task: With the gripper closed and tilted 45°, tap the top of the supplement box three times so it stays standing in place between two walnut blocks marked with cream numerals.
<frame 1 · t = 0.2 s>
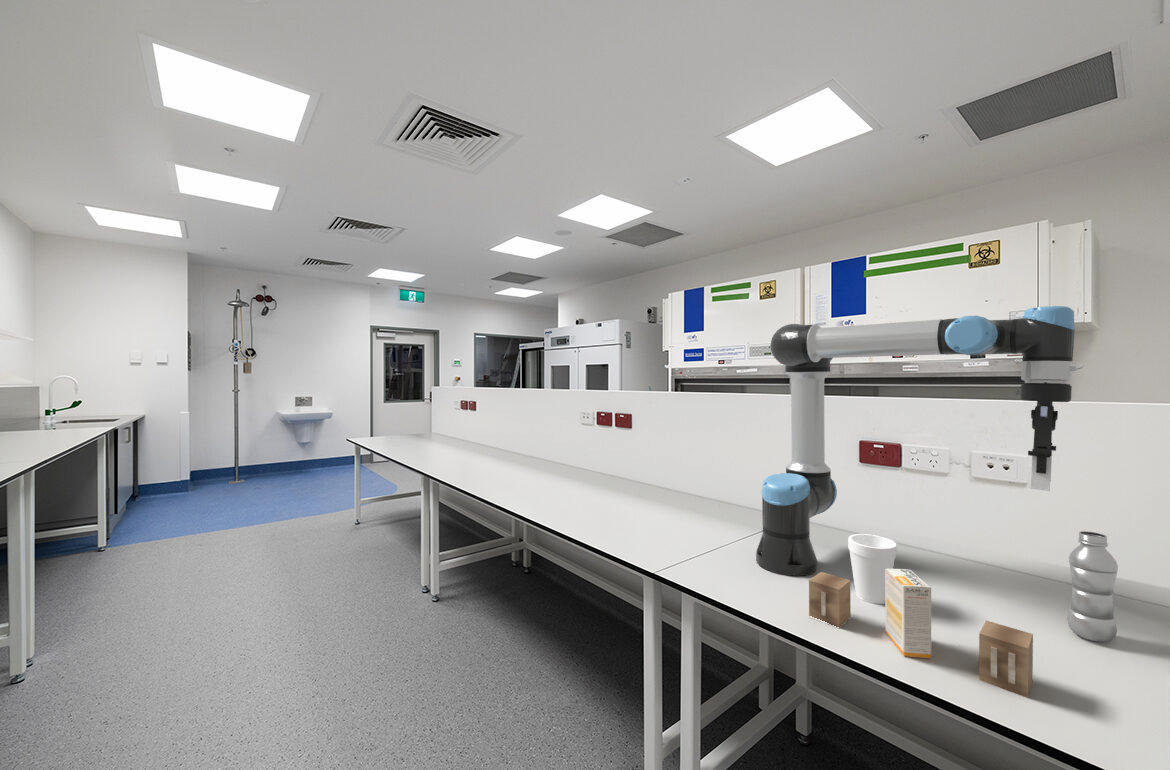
hand: (1041, 484, 98), 28 cm above the lab bench, tool pointing down, fingers open, 13 cm apart
foam cup: (871, 598, 108), on the lab bench
walnut block two: (1005, 680, 79), on the lab bench
walnut block one: (829, 617, 100), on the lab bench
plastic bottle: (1091, 638, 91), on the lab bench
supplement box: (907, 646, 90), on the lab bench
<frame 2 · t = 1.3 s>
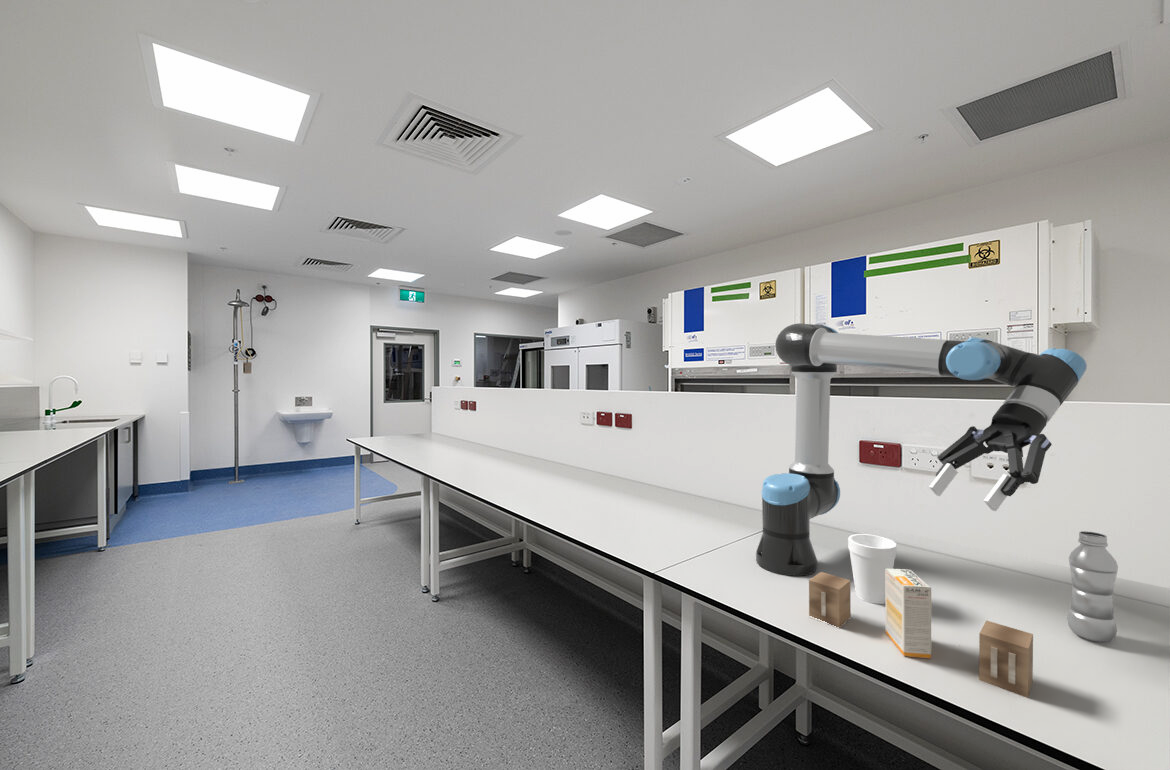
hand: (960, 498, 92), 27 cm above the lab bench, tool tilted 45°, fingers open, 10 cm apart
nothing on the lab bench moved.
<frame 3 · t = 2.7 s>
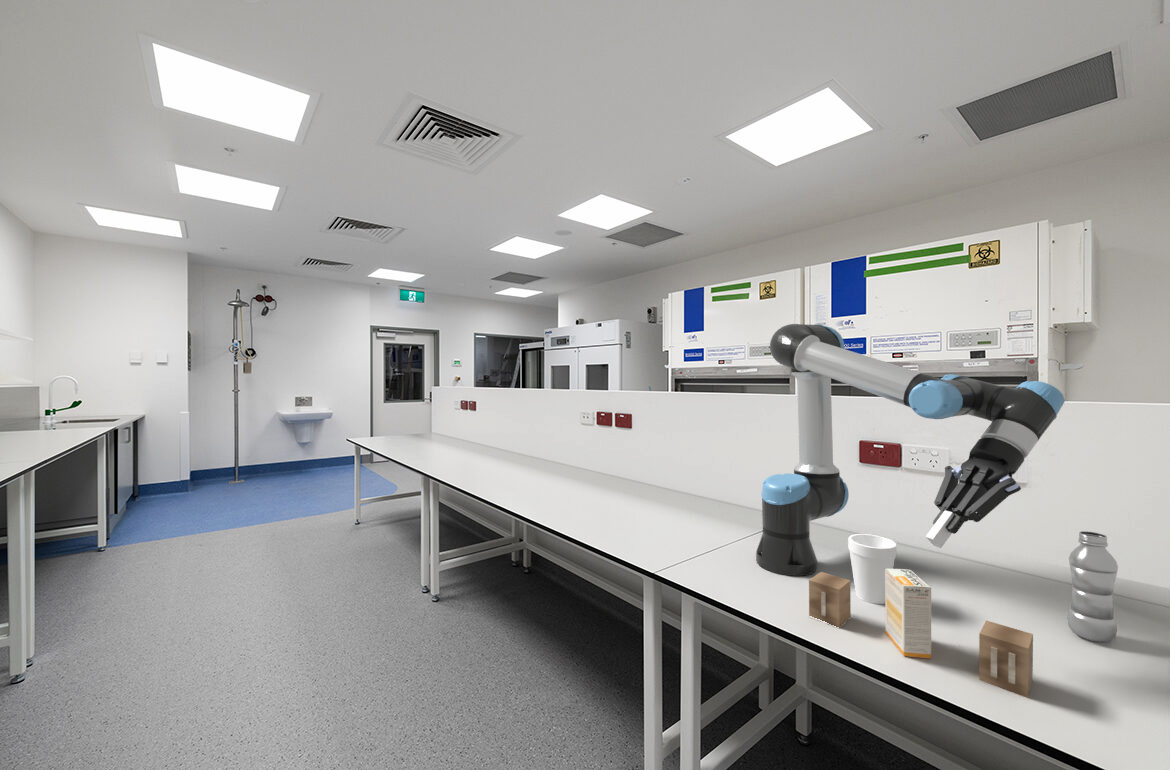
hand: (933, 542, 89), 20 cm above the lab bench, tool tilted 45°, fingers closed
nothing on the lab bench moved.
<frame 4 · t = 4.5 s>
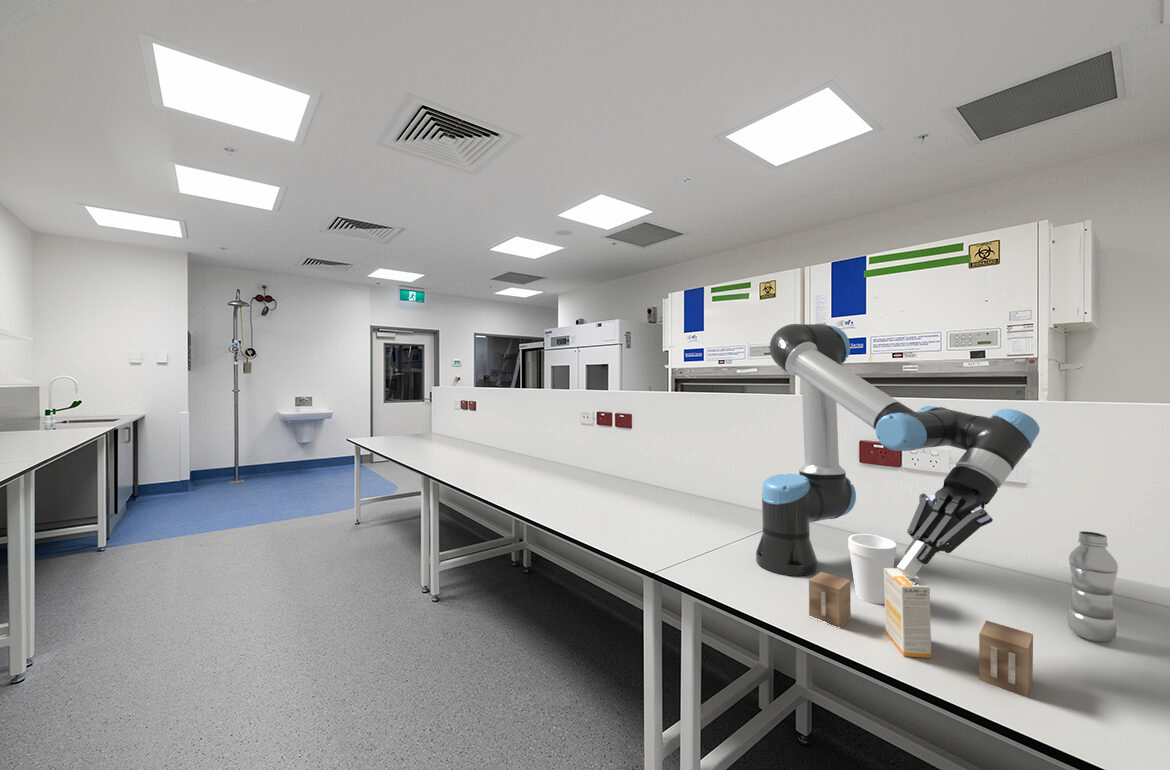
hand: (904, 572, 88), 14 cm above the lab bench, tool tilted 45°, fingers closed
supplement box: (907, 645, 90), on the lab bench, touching gripper
everything else where it was.
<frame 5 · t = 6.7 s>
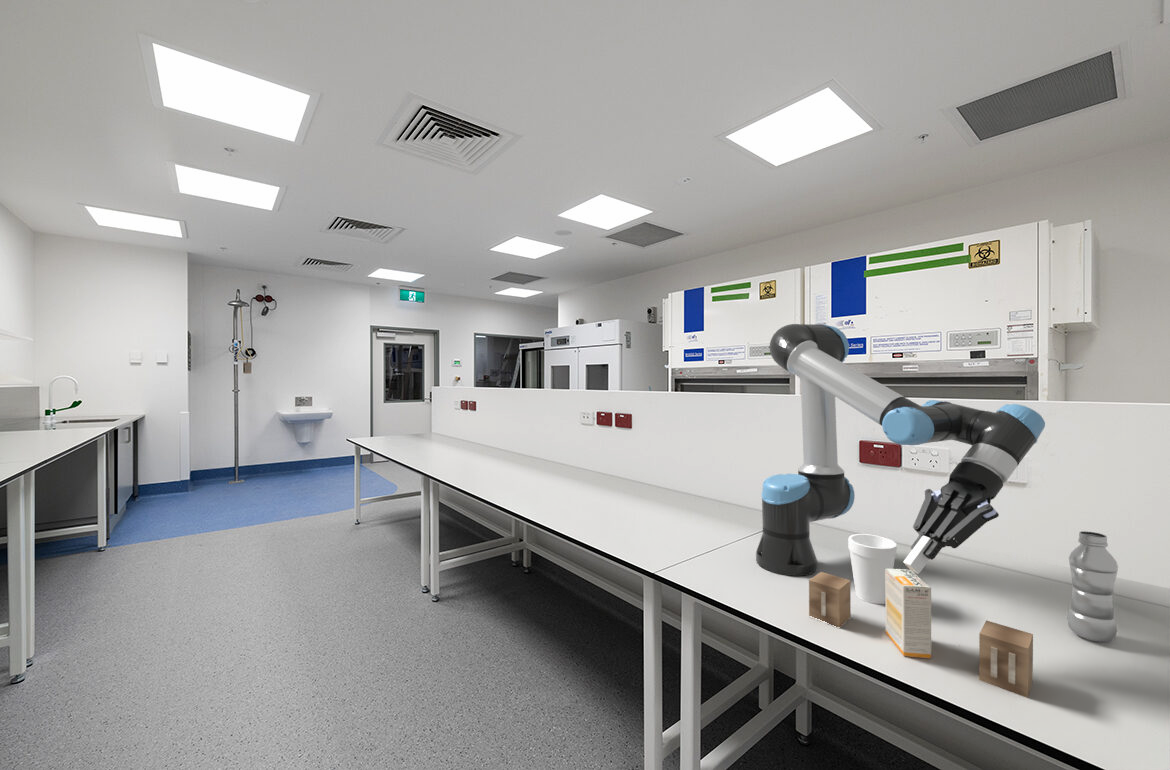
hand: (910, 567, 88), 15 cm above the lab bench, tool tilted 45°, fingers closed
supplement box: (907, 646, 90), on the lab bench
everything else where it was.
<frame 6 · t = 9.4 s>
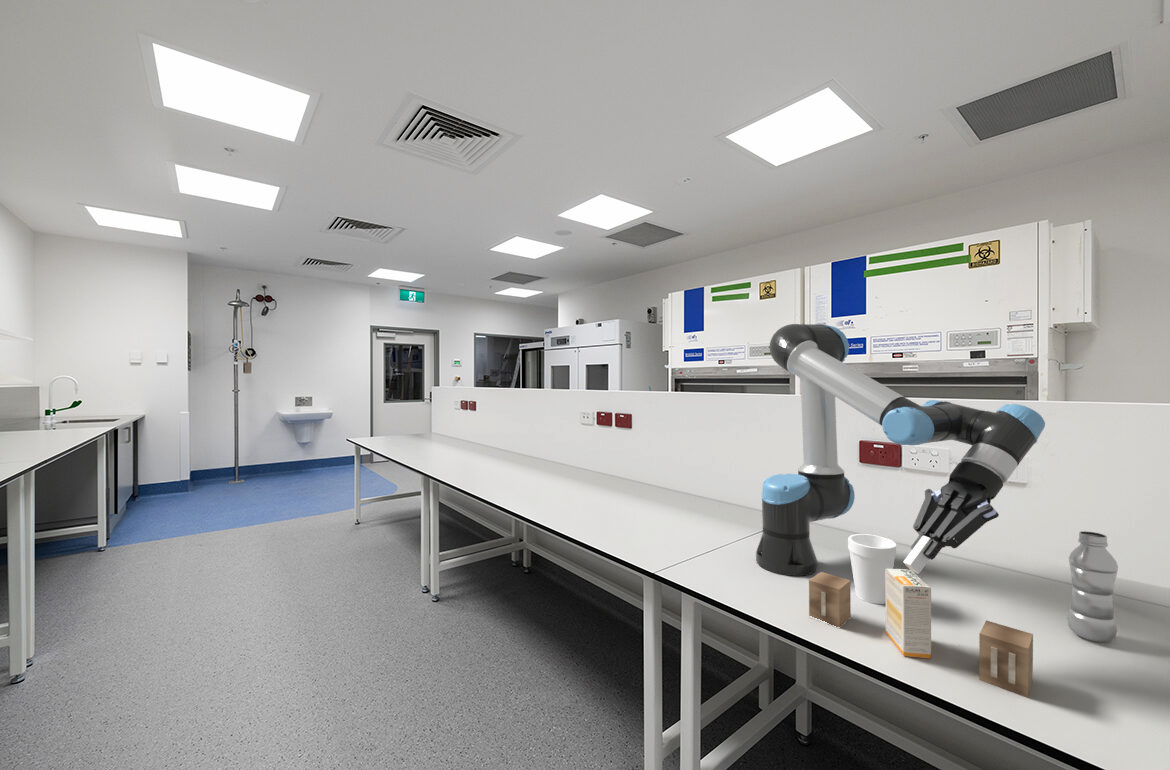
hand: (910, 567, 88), 15 cm above the lab bench, tool tilted 45°, fingers closed
nothing on the lab bench moved.
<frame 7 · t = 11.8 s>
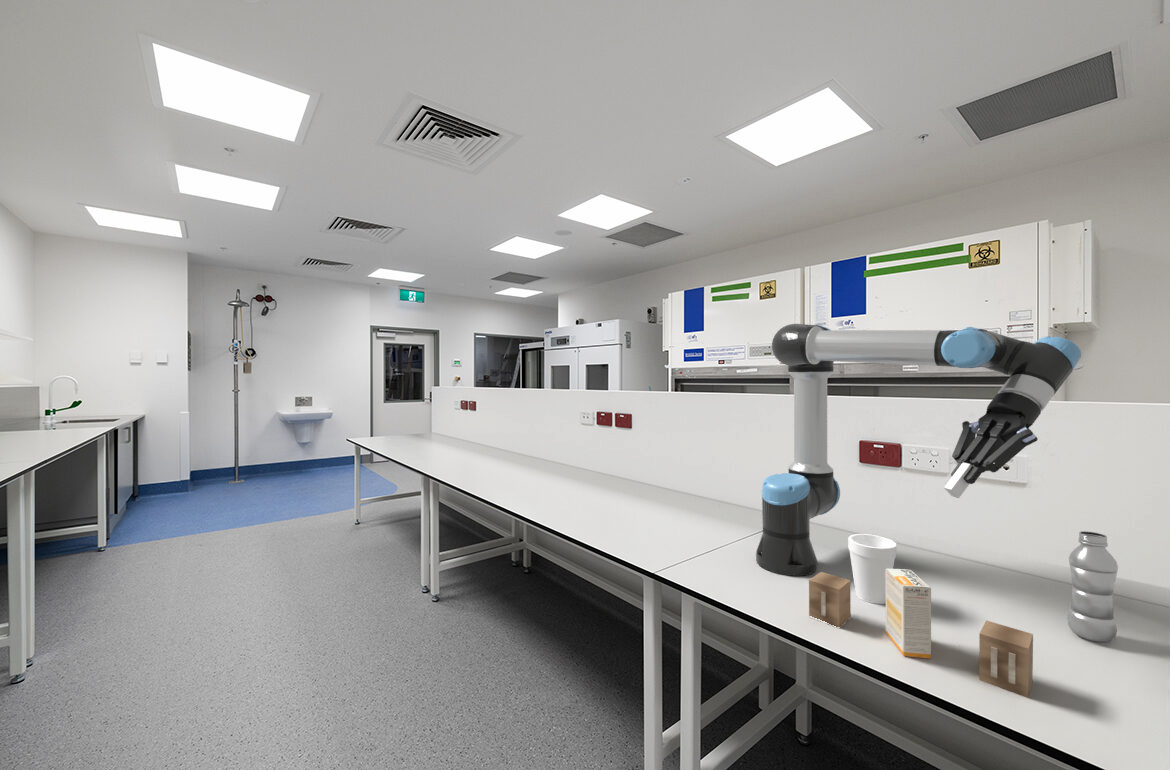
hand: (951, 492, 93), 28 cm above the lab bench, tool tilted 45°, fingers closed
nothing on the lab bench moved.
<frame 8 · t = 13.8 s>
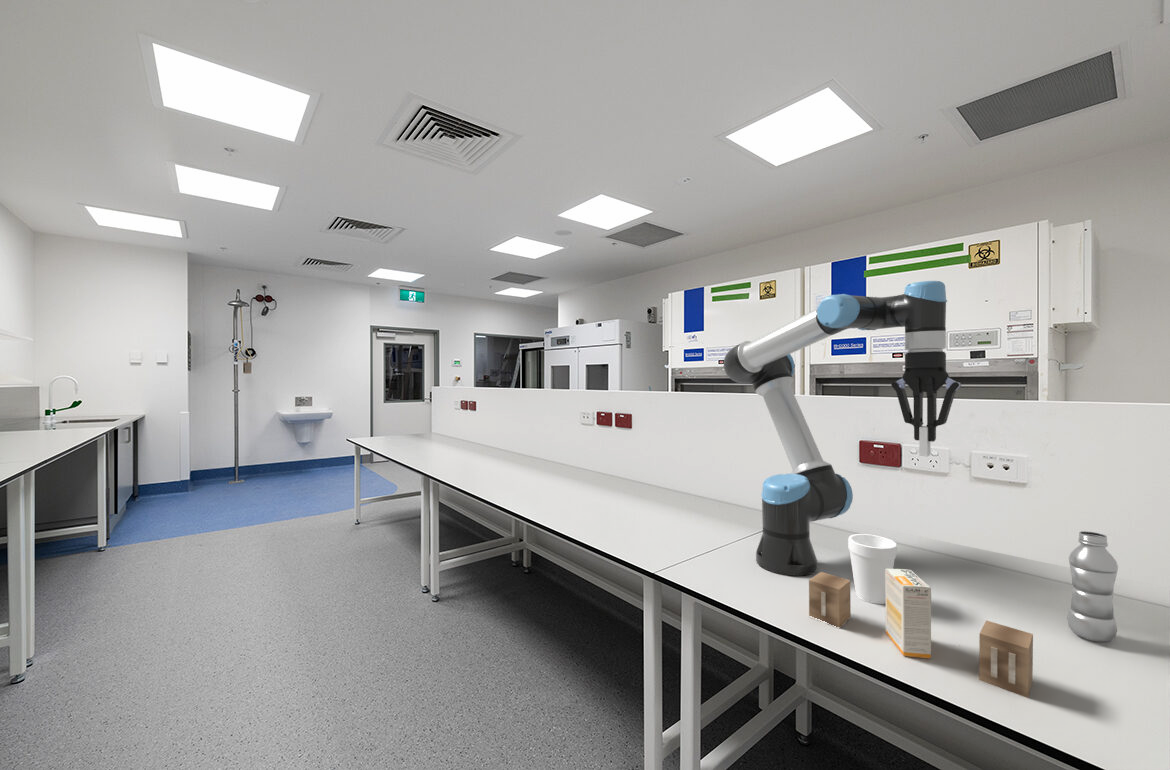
hand: (924, 455, 107), 32 cm above the lab bench, tool pointing down, fingers closed
nothing on the lab bench moved.
at the end: supplement box moved 0.2 cm from its start; supplement box tilted 0°; walnut block two moved 0.1 cm from its start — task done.
